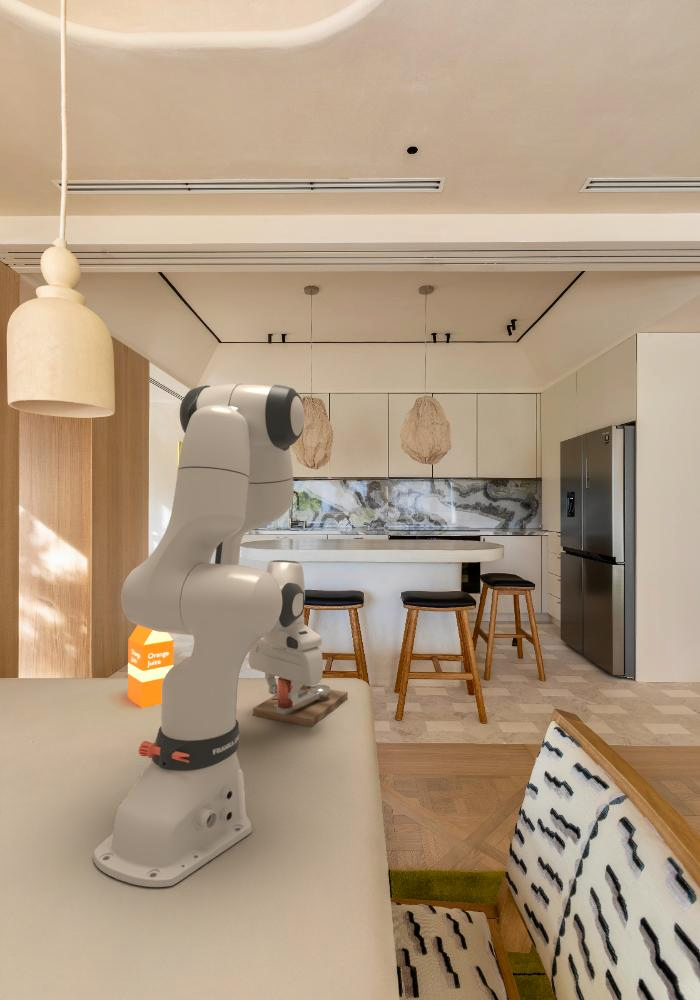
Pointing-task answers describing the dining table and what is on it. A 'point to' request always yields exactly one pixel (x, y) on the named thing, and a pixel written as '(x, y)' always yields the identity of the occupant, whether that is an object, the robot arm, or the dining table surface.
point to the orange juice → (148, 665)
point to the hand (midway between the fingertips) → (283, 696)
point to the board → (302, 709)
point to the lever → (303, 696)
